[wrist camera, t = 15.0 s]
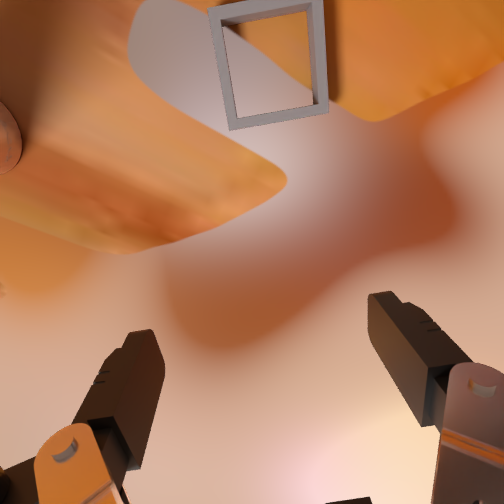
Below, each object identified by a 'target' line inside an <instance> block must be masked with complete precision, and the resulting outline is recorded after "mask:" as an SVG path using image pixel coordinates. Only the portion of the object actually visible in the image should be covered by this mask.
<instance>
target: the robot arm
mask: <svg viewBox="0 0 504 504" xmlns="http://www.w3.org/2000/svg"><path fill="white" fill-rule="evenodd" d="M21 151H22V139H21V134H20V130H19V128H18V125H17V123H16V121H15V119H14V118H13V116H12V115H11V113H10V112H9V110H8V109H7V108H6V107H5V106H4V105H3V104H2V103H1V102H0V174H4V173H6V172H8V171H9V170H11V169H12V168H13V167H14V166H15V165H16V164H17V162H18V160H19V158H20V155H21ZM368 333H369V337H370V341H371V343H372V345H373V347H374V348H375V350H376V352H377V354H378V355H379V357H380V359H381V360H382V362H383V363H384V365H385V367H386V369H387V370H388V372H389V374H390V375H391V377H392V379H393V381H394V382H395V384H396V386H397V387H398V389H399V391H400V392H401V394H402V396H403V397H404V399H405V401H406V402H407V404H408V406H409V407H410V409H411V411H412V412H413V414H414V416H415V417H416V419H417V421H418V422H419V424H420V426H421V427H426V426H432V425H435V426H436V428H437V429H438V431H439V432H440V440H439V447H438V455H437V462H436V470H435V477H434V484H433V491H432V499H431V504H504V374H503V373H501V372H500V371H498V370H496V369H494V368H492V367H489V366H487V365H483V364H480V363H474V362H473V361H472V360H471V359H470V358H469V357H468V356H467V355H466V354H465V353H464V352H463V351H462V350H461V348H459V346H458V345H457V344H456V343H455V342H454V341H453V340H452V339H450V337H449V336H448V335H447V334H446V333H445V332H444V331H443V330H441V328H440V327H439V326H438V325H437V324H436V322H433V319H432V318H431V317H429V315H428V314H427V313H426V312H425V311H424V310H423V309H421V308H419V307H417V306H415V305H414V304H412V303H410V302H407V303H402V302H401V301H400V300H399V299H398V297H397V296H396V295H395V294H394V293H393V292H392V291H386V292H380V293H374V294H369V296H368ZM164 378H165V363H164V359H163V356H162V354H161V351H160V348H159V345H158V343H157V340H156V337H155V335H154V332H153V331H152V330H151V329H147V330H141V331H135V332H130V333H129V334H128V335H127V337H126V339H125V342H124V343H123V346H122V348H117V349H115V350H114V351H113V352H112V353H111V354H110V356H108V358H107V359H106V360H105V361H104V363H103V365H102V367H101V369H100V370H99V375H97V376H96V378H95V380H94V382H93V385H92V386H91V388H90V390H89V392H88V393H87V395H86V397H85V399H84V401H83V403H82V405H81V407H80V409H79V410H78V412H77V414H76V416H75V418H74V420H73V422H72V424H71V425H69V426H67V427H65V428H63V429H61V430H59V431H58V432H56V433H55V434H54V435H53V436H51V437H50V438H49V439H48V440H47V441H46V442H45V443H44V445H43V446H42V447H41V449H40V450H39V452H38V453H37V455H36V456H35V457H33V458H31V459H28V460H26V461H24V462H22V463H20V464H17V465H15V466H12V467H10V468H8V469H6V470H3V469H2V468H1V466H0V504H131V502H130V499H129V497H128V495H127V492H126V490H125V487H124V486H123V480H124V477H125V474H126V471H131V470H138V469H140V468H141V465H142V461H143V457H144V453H145V449H146V445H147V442H148V438H149V434H150V431H151V426H152V423H153V419H154V415H155V411H156V408H157V404H158V400H159V397H160V393H161V389H162V385H163V381H164ZM326 504H372V502H371V499H370V497H364V498H357V499H351V500H344V501H337V502H330V503H326Z"/></svg>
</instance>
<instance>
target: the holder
mask: <svg viewBox="0 0 504 504" xmlns="http://www.w3.org/2000/svg"><path fill="white" fill-rule="evenodd" d="M207 10H208V16H209V21H210V27H211V33H212V38H213V44H214V49H215V54H216V60H217V66H218V71H219V77H220V82H221V88H222V94H223V99H224V105H225V110H226V116H227V121H228V126H229V131H231V130H237V129H242V128H247V127H253V126H259V125H265V124H270V123H276V122H282V121H287V120H293V119H298V118H304V117H310V116H316V115H321V114H326V113H329V100H328V81H327V63H326V45H325V26H324V8H323V0H246V1H241V2H236V3H231V4H226V5H220V6H215V7H210V8H207ZM302 11H307V22H308V36H309V50H310V63H311V77H312V91H313V105H311V106H305V107H300V108H294V109H288V110H282V111H277V112H271V113H266V114H260V115H255V116H249V117H244V118H238V119H237V114H236V108H235V102H234V96H233V90H232V84H231V78H230V72H229V66H228V60H227V54H226V48H225V42H224V36H223V30H222V27H223V26H229V25H234V24H239V23H244V22H250V21H255V20H260V19H265V18H271V17H276V16H281V15H286V14H291V13H297V12H302Z"/></svg>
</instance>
